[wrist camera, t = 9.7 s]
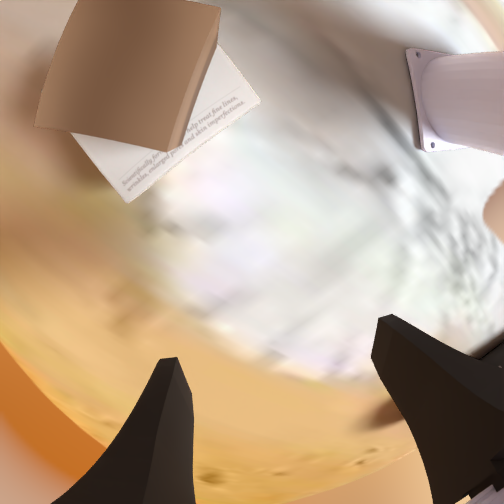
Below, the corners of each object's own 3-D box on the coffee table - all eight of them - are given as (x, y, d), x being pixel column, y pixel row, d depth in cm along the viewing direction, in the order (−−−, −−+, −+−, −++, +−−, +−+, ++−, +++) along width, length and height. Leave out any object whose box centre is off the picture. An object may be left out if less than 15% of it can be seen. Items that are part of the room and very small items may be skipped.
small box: (146, 187, 17) (124, 210, 12) (77, 97, 13) (35, 90, 9) (250, 110, 16) (267, 102, 11) (177, 18, 13) (167, -18, 8)
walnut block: (216, 47, 10) (220, 7, 6) (181, 145, 11) (166, 152, 7) (118, 29, 9) (81, -7, 5) (86, 124, 10) (33, 126, 6)
